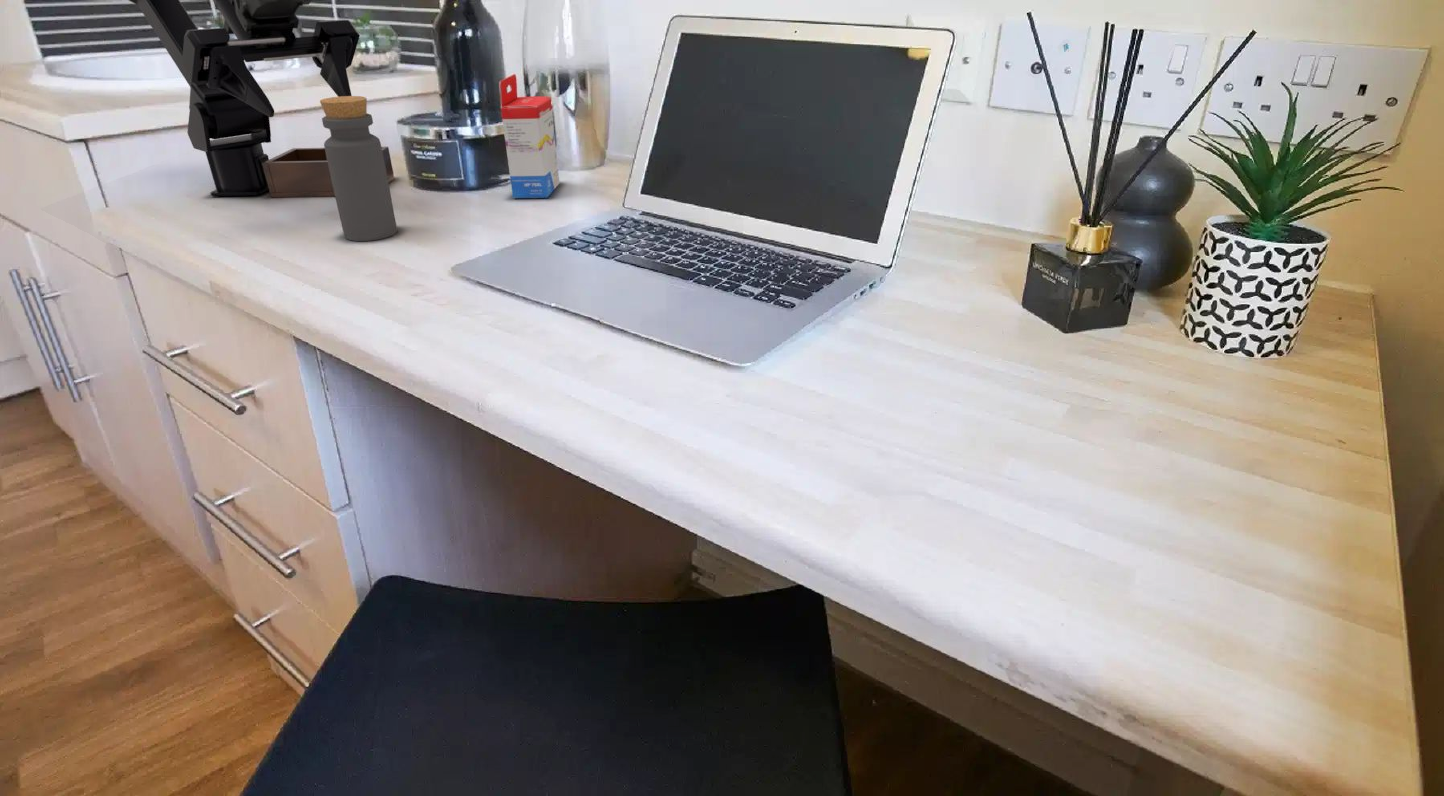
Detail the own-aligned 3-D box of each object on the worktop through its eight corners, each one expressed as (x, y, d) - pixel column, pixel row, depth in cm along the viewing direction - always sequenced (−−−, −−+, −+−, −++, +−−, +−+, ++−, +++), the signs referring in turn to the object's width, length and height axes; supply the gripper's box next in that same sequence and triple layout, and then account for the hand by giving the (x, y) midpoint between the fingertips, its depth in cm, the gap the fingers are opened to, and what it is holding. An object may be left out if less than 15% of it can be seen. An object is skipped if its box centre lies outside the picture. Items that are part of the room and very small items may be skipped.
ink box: (548, 198, 111) (535, 81, 104) (511, 199, 111) (496, 81, 104) (560, 183, 119) (549, 72, 112) (526, 183, 119) (512, 73, 112)
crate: (270, 197, 114) (261, 162, 112) (300, 180, 122) (292, 148, 120) (371, 195, 114) (364, 161, 112) (394, 178, 122) (388, 146, 120)
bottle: (403, 235, 97) (378, 99, 90) (350, 244, 94) (320, 104, 87) (390, 224, 102) (364, 93, 95) (339, 232, 99) (308, 98, 92)
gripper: (157, -57, 85) (236, 67, 84) (333, -57, 98) (403, 50, 97) (153, 25, 93) (225, 139, 92) (316, 15, 106) (381, 115, 105)
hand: (312, 108), depth 96 cm, fingers open, 9 cm apart
